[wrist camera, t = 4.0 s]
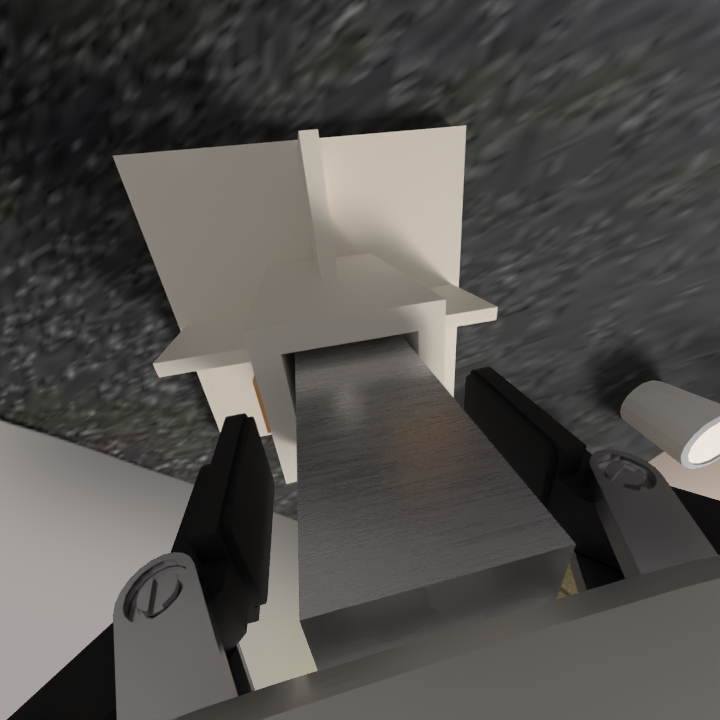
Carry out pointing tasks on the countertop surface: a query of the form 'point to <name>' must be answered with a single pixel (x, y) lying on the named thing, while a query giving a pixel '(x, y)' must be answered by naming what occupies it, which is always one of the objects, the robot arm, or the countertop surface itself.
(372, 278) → the cream stand
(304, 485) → the steel post
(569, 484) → the robot arm
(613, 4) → the countertop surface
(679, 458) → the shot glass
